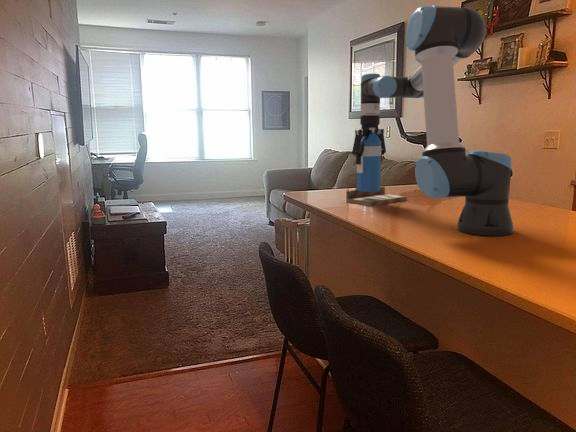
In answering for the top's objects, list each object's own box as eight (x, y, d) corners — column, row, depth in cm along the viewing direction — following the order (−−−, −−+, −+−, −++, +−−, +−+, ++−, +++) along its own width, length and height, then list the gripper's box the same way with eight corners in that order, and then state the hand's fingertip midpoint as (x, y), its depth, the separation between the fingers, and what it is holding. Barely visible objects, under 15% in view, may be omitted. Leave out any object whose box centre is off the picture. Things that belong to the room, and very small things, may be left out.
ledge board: (368, 206, 178) (369, 192, 177) (346, 201, 189) (346, 189, 188) (406, 200, 190) (406, 187, 189) (382, 196, 201) (383, 184, 200)
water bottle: (379, 188, 189) (380, 127, 184) (381, 191, 180) (383, 127, 175) (356, 188, 190) (357, 127, 185) (357, 191, 181) (358, 127, 176)
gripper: (356, 114, 170) (355, 174, 174) (396, 114, 182) (394, 170, 187) (342, 115, 176) (342, 173, 180) (382, 115, 188) (381, 169, 193)
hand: (368, 171), depth 183 cm, fingers closed on water bottle, 9 cm apart
